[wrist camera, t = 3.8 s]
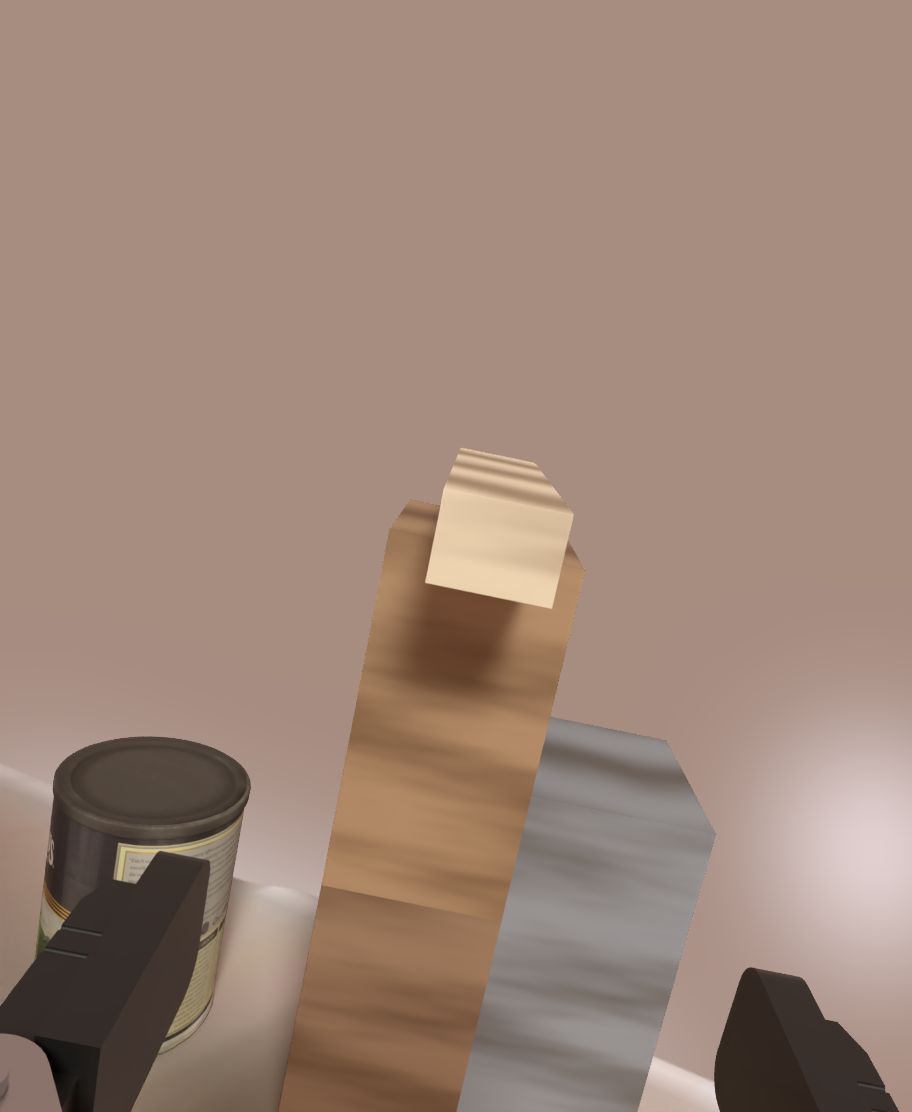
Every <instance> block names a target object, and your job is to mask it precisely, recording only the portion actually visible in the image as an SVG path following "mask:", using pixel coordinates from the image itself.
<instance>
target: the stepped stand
mask: <svg viewBox="0 0 912 1112" xmlns="http://www.w3.org/2000/svg"><path fill="white" fill-rule="evenodd" d="M439 511H440V506H439V505H434V504H429V503H424V502H419V501H415V500H410V501H409V502H408V504H407V505H406V507H405V508H404V510H403V511H402V512H401V514H400V515H399V517H398V518H397V519H396V521H395V523H394V524H393V525H392V527H391V528H390V530H389V535H388V540H387V545H386V550H385V556H384V561H383V566H382V571H381V577H380V582H379V587H378V592H377V598H376V603H375V608H374V613H373V619H372V624H371V629H370V634H369V639H368V645H367V650H366V655H365V660H364V666H363V671H362V676H361V681H360V687H359V692H358V698H357V703H356V708H355V713H354V718H353V723H352V729H351V734H350V739H349V744H348V750H347V755H346V760H345V765H344V770H343V776H342V781H341V787H340V792H339V797H338V802H337V807H336V812H335V818H334V823H333V828H332V834H331V839H330V844H329V849H328V854H327V860H326V865H325V870H324V876H323V881H322V886H321V891H320V896H319V902H318V907H317V912H316V917H315V923H314V928H313V933H312V938H311V943H310V949H309V954H308V959H307V964H306V970H305V975H304V980H303V985H302V991H301V996H300V1001H299V1006H298V1012H297V1017H296V1022H295V1027H294V1033H293V1038H292V1043H291V1048H290V1054H289V1059H288V1064H287V1069H286V1075H285V1080H284V1085H283V1090H282V1095H281V1101H280V1106H279V1111H278V1112H637V1111H638V1107H639V1104H640V1100H641V1097H642V1093H643V1090H644V1086H645V1083H646V1079H647V1076H648V1072H649V1069H650V1065H651V1062H652V1058H653V1054H654V1051H655V1047H656V1044H657V1040H658V1037H659V1033H660V1030H661V1026H662V1023H663V1019H664V1016H665V1012H666V1009H667V1005H668V1001H669V998H670V994H671V991H672V988H673V984H674V980H675V977H676V974H677V970H678V967H679V963H680V960H681V956H682V953H683V949H684V946H685V941H686V938H687V935H688V931H689V928H690V924H691V921H692V917H693V914H694V910H695V907H696V903H697V899H698V896H699V893H700V889H701V886H702V882H703V878H704V875H705V872H706V868H707V865H708V861H709V858H710V854H711V851H712V847H713V844H714V840H715V836H716V833H715V831H714V829H713V827H712V826H711V824H710V822H709V820H708V818H707V816H706V814H705V812H704V811H703V809H702V807H701V805H700V803H699V801H698V799H697V797H696V796H695V794H694V792H693V790H692V788H691V786H690V784H689V782H688V780H687V778H686V777H685V775H684V773H683V771H682V769H681V767H680V765H679V763H678V761H677V760H676V758H675V756H674V754H673V752H672V750H671V748H670V746H669V745H668V743H667V741H666V740H661V739H656V738H652V737H646V736H642V735H637V734H632V733H627V732H622V731H617V730H612V729H608V728H603V727H598V726H593V725H588V724H583V723H578V722H573V721H568V720H563V719H558V718H553V717H550V715H551V711H552V707H553V703H554V698H555V694H556V690H557V686H558V682H559V677H560V672H561V669H562V665H563V661H564V656H565V652H566V648H567V644H568V639H569V635H570V631H571V627H572V623H573V618H574V614H575V610H576V606H577V602H578V597H579V593H580V589H581V585H582V580H583V576H584V572H585V569H584V567H583V566H582V564H581V562H580V561H579V559H578V557H577V555H576V554H575V552H574V550H573V548H572V547H571V545H570V543H569V542H567V546H566V550H565V555H564V559H563V563H562V568H561V572H560V576H559V581H558V585H557V589H556V594H555V598H554V602H553V606H552V609H550V608H545V607H540V606H536V605H531V604H526V603H521V602H516V601H511V600H506V599H502V598H497V597H492V596H487V595H482V594H477V593H472V592H467V591H463V590H458V589H453V588H448V587H443V586H438V585H433V584H429V583H425V581H426V576H427V571H428V566H429V561H430V556H431V551H432V546H433V541H434V536H435V531H436V526H437V521H438V516H439Z"/></svg>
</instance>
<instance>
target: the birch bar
mask: <svg viewBox="0 0 912 1112" xmlns="http://www.w3.org/2000/svg"><path fill="white" fill-rule="evenodd" d="M573 515H574V514H573V513H572V512H571V510H570V509H569V508H568V506H567V505H566V504H565V502H564V501H563V500H562V498H561V497H560V496H559V494H558V493H557V492H556V490H555V489H554V488H553V487H552V485H551V484H550V483H549V481H548V480H547V479H546V477H545V476H544V475H543V473H542V472H541V471H540V469H539V468H538V467H537V465H536V464H535V463H532V462H528V461H523V460H518V459H513V458H509V457H504V456H499V455H494V454H489V453H484V452H479V451H474V450H470V449H465V448H461V449H460V451H459V454H458V456H457V459H456V461H455V464H454V466H453V468H452V471H451V473H450V475H449V478H448V480H447V482H446V485H445V487H444V492H443V497H442V501H441V506H440V511H439V516H438V521H437V526H436V531H435V536H434V541H433V546H432V551H431V556H430V561H429V566H428V571H427V576H426V581H425V583H429V584H433V585H438V586H443V587H448V588H453V589H458V590H463V591H467V592H472V593H477V594H482V595H487V596H492V597H497V598H502V599H506V600H511V601H516V602H521V603H526V604H531V605H536V606H540V607H545V608H550V609H552V606H553V602H554V598H555V594H556V589H557V585H558V581H559V576H560V572H561V568H562V563H563V559H564V555H565V550H566V546H567V542H568V537H569V533H570V529H571V524H572V520H573Z"/></svg>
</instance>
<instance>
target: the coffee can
mask: <svg viewBox="0 0 912 1112" xmlns="http://www.w3.org/2000/svg"><path fill="white" fill-rule="evenodd" d="M250 789H251V786H250V779H249V776H248V774H247V772H246V771H245V769H244V768H243V767H242V766H241V765H240V764H239V763H238V762H237V761H236V760H234V759H233V758H231V757H230V756H228V755H226V754H224V753H222V752H221V751H218V750H216V749H214V748H212V747H209V746H206V745H202V744H200V743H196V742H192V741H187V740H181V739H175V738H166V737H129V738H120V739H114V740H109V741H105V742H101V743H97V744H93V745H90V746H88V747H85V748H83V749H81V750H79V751H77V752H75V753H73V754H72V755H70V756H69V757H67V758H66V759H65V760H64V761H63V762H62V763H61V764H60V766H59V767H58V769H57V770H56V772H55V776H54V781H53V794H54V800H53V809H52V817H51V825H50V834H49V843H48V851H47V859H46V868H45V877H44V886H43V895H42V903H41V912H40V920H39V929H38V937H37V945H36V954H35V960H36V958H37V957H38V956H39V954H40V953H41V952H44V950H45V946H46V945H47V944H48V942H49V941H50V940H51V938H52V937H53V936H54V934H55V933H56V932H57V930H60V929H61V926H62V924H63V922H64V921H65V920H66V918H67V917H68V916H69V914H70V913H71V912H72V910H73V909H74V908H75V906H76V905H77V904H78V902H79V901H80V900H81V899H82V898H83V897H85V896H86V895H88V894H90V893H91V892H93V891H94V890H96V889H97V888H99V887H101V886H102V885H104V884H105V883H107V882H109V881H110V880H112V879H114V880H119V881H124V882H129V883H135V884H136V883H137V881H138V880H139V878H140V877H141V875H142V874H143V872H144V871H145V869H146V868H147V866H148V865H149V864H150V862H151V861H152V859H153V858H154V856H155V855H156V853H158V852H159V851H164V852H170V853H175V854H180V855H185V856H190V857H195V858H200V859H205V860H209V861H210V876H209V883H208V890H207V897H206V903H205V910H204V917H203V924H202V931H201V938H200V944H199V951H198V956H197V960H196V964H195V968H194V972H193V975H192V978H191V981H190V984H189V987H188V990H187V992H186V995H185V997H184V1000H183V1002H182V1004H181V1006H180V1008H179V1010H178V1012H177V1014H176V1016H175V1019H174V1021H173V1023H172V1025H171V1027H170V1029H169V1031H168V1033H167V1035H166V1038H165V1040H164V1042H163V1044H162V1046H161V1048H160V1050H159V1052H158V1054H160V1053H163V1052H166V1051H168V1050H170V1049H172V1048H173V1047H175V1046H176V1045H178V1044H179V1043H181V1042H183V1041H184V1040H186V1039H187V1038H188V1037H189V1036H191V1035H192V1034H193V1033H194V1032H195V1031H196V1030H197V1029H198V1028H199V1026H200V1025H201V1024H202V1023H203V1021H204V1020H205V1018H206V1016H207V1015H208V1012H209V1010H210V1008H211V1006H212V1003H213V996H214V982H215V976H216V970H217V964H218V958H219V952H220V947H221V941H222V935H223V929H224V923H225V917H226V912H227V907H228V901H229V895H230V889H231V883H232V877H233V871H234V865H235V860H236V854H237V848H238V842H239V836H240V830H241V824H242V819H243V813H244V807H245V806H246V804H247V802H248V798H249V794H250ZM35 960H34V961H35ZM158 1054H157V1055H158Z"/></svg>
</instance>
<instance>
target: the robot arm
mask: <svg viewBox="0 0 912 1112" xmlns="http://www.w3.org/2000/svg"><path fill="white" fill-rule="evenodd" d="M209 876H210V861H209V860H205V859H200V858H195V857H190V856H185V855H180V854H175V853H170V852H164V851H159V852H158V853H156V855H155V856H154V858H153V859H152V861H151V862H150V864H149V865H148V866H147V868H146V869H145V871H144V872H143V874H142V875H141V877H140V878H139V880H138V881H137V883H136V884H135V883H129V882H124V881H119V880H114V879H112V880H110V881H109V882H107V883H105V884H104V885H102V886H101V887H99V888H97V889H96V890H94V891H93V892H91V893H90V894H88V895H86V896H85V897H83V898H82V899H81V900H80V901H79V902H78V904H77V905H76V906H75V908H74V909H73V910H72V912H71V913H70V914H69V916H68V917H67V918H66V920H65V921H64V922H63V924H62V926H61V929H60V930H57V932H56V933H55V934H54V936H53V937H52V938H51V940H50V941H49V942H48V944H47V945H46V946H45V950H44V952H41V953H40V954H39V956H38V957H37V958H36V960H35V961H34V962H33V964H32V965H31V966H30V968H29V969H28V970H27V972H26V973H25V974H24V976H23V977H22V978H21V980H20V981H19V982H18V984H17V985H16V986H15V988H14V989H13V990H12V992H11V993H10V994H9V995H8V997H7V998H6V999H5V1001H4V1002H3V1003H2V1005H1V1006H0V1112H130V1111H131V1109H132V1107H133V1105H134V1103H135V1101H136V1099H137V1097H138V1095H139V1092H140V1090H141V1088H142V1086H143V1084H144V1082H145V1080H146V1078H147V1076H148V1073H149V1071H150V1069H151V1067H152V1065H153V1063H154V1061H155V1059H156V1057H157V1054H158V1052H159V1050H160V1048H161V1046H162V1044H163V1042H164V1040H165V1038H166V1035H167V1033H168V1031H169V1029H170V1027H171V1025H172V1023H173V1021H174V1019H175V1016H176V1014H177V1012H178V1010H179V1008H180V1006H181V1004H182V1002H183V1000H184V997H185V995H186V992H187V990H188V987H189V984H190V981H191V978H192V975H193V972H194V968H195V964H196V960H197V956H198V951H199V944H200V938H201V931H202V924H203V917H204V910H205V903H206V897H207V890H208V883H209ZM714 1077H715V1078H714V1082H715V1093H716V1099H717V1103H718V1107H719V1110H720V1112H899V1111H898V1109H897V1107H896V1105H895V1103H894V1101H893V1100H892V1098H891V1096H890V1094H889V1093H886V1092H885V1085H884V1084H883V1081H882V1080H881V1078H880V1076H879V1074H878V1072H877V1070H876V1069H875V1067H874V1066H873V1063H872V1061H871V1060H870V1058H869V1056H868V1054H867V1053H866V1052H865V1051H864V1050H863V1049H862V1047H861V1046H860V1045H858V1043H857V1042H856V1041H855V1040H854V1039H853V1038H852V1037H851V1036H850V1035H849V1034H848V1033H847V1032H846V1031H845V1030H844V1029H843V1027H842V1026H841V1025H840V1024H838V1022H834V1021H829V1020H825V1019H824V1017H823V1015H822V1013H821V1011H820V1009H819V1007H818V1005H817V1003H816V1001H815V999H814V997H813V995H812V993H811V991H810V989H809V987H808V985H807V984H806V982H805V981H804V980H803V979H802V978H800V977H797V976H792V975H787V974H781V973H776V972H771V971H766V970H761V969H756V968H747V969H746V970H745V971H744V973H743V974H742V977H741V979H740V982H739V985H738V988H737V991H736V994H735V998H734V1001H733V1004H732V1007H731V1010H730V1013H729V1016H728V1020H727V1023H726V1026H725V1029H724V1032H723V1035H722V1038H721V1041H720V1045H719V1048H718V1051H717V1055H716V1061H715V1072H714Z"/></svg>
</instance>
